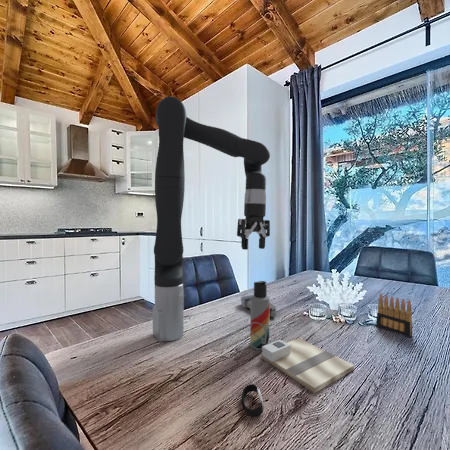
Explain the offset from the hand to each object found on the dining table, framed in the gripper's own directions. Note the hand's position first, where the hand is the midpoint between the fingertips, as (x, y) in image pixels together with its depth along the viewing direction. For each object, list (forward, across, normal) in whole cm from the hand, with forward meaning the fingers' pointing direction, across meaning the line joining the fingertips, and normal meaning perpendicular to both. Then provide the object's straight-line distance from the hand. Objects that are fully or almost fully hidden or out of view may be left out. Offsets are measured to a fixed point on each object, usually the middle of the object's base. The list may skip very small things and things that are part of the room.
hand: (253, 249), depth 95 cm
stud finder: (+27, -9, -19) cm, 34 cm away
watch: (+30, -27, -27) cm, 49 cm away
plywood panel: (+28, -5, -25) cm, 38 cm away
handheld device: (+27, +15, +9) cm, 32 cm away
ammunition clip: (+27, +35, -34) cm, 56 cm away
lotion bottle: (+28, -8, -11) cm, 31 cm away
